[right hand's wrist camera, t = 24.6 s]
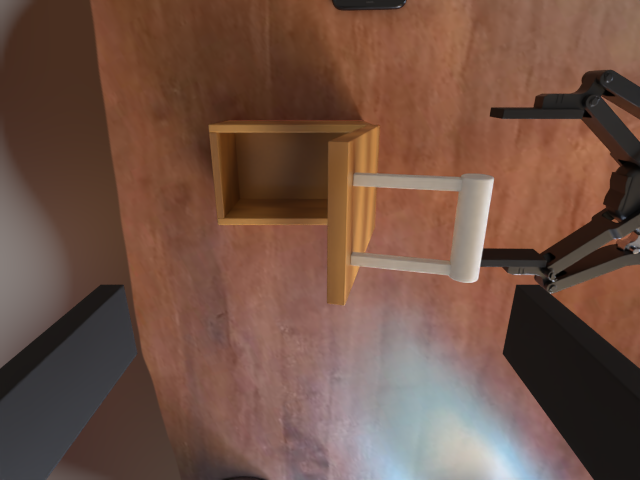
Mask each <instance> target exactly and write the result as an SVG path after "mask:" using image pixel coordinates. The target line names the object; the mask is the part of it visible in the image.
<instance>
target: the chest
mask: <svg viewBox="0 0 640 480" xmlns="http://www.w3.org/2000/svg"><path fill="white" fill-rule="evenodd" d="M367 125H372V124H370V123H367V122H365V121H364V120H227V121H224V122H219V123H214V124H209V125H208V126H209V138H210V148H211V158H212V169H213V179H214V189H215V200H216V210H217V218H218V225H328V142H329V141H331V140H333V139H336V138H338V137H340V136H343V135H345V134H348V133H350V132H352V131H355V130H357V129H359V128H362V127H364V126H367Z"/></svg>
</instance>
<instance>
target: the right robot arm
mask: <svg viewBox="0 0 640 480" xmlns="http://www.w3.org/2000/svg"><path fill="white" fill-rule="evenodd" d="M136 355H137V350H136V345H135V339H134V334H133V329H132V324H131V319H130V314H129V309H128V304H127V299H126V295H125V289H124V285H100V286H99V287H97V288H96V289H95V290H94V291H93V292H91V293H90V294H89V295H88V296H87V297H85V298H84V299H83V300H82V301H81V302H79V303H78V304H77V305H76V306H75V307H73V308H72V309H71V310H70V311H69V312H68V313H66V314H65V315H64V316H63V317H62V318H60V319H59V320H58V321H57V322H56V323H54V324H53V325H52V326H51V327H50V328H48V329H47V330H46V331H45V332H44V333H42V334H41V335H40V336H39V337H38V338H36V339H35V340H34V341H33V342H32V343H30V344H29V345H28V346H27V347H26V348H24V349H23V350H22V351H21V352H20V353H18V354H17V355H16V356H15V357H14V358H12V359H11V360H10V361H9V362H8V363H6V364H5V365H4V366H3V367H2V368H1V369H0V480H46V479H47V478H48V476H49V475H50V473H51V472H52V471H53V469H54V468H55V467H56V465H57V464H58V463H59V461H60V460H61V458H62V457H63V456H64V454H65V453H66V451H67V450H68V449H69V447H70V446H71V445H72V443H73V442H74V440H75V439H76V438H77V436H78V435H79V434H80V432H81V431H82V429H83V428H84V427H85V425H86V424H87V422H88V421H89V420H90V418H91V417H92V416H93V414H94V413H95V411H96V410H97V409H98V407H99V406H100V405H101V403H102V402H103V400H104V399H105V398H106V396H107V395H108V394H109V392H110V391H111V389H112V388H113V387H114V385H115V384H116V382H117V381H118V380H119V378H120V377H121V376H122V374H123V373H124V371H125V370H126V369H127V367H128V366H129V364H130V363H131V362H132V360H133V359H134V358H135V356H136ZM503 355H504V356H505V358H506V359H507V360H508V362H509V363H510V365H511V366H512V367H513V369H514V370H515V371H516V373H517V374H518V376H519V377H520V378H521V380H522V381H523V382H524V384H525V385H526V387H527V388H528V389H529V391H530V392H531V394H532V395H533V396H534V398H535V399H536V400H537V402H538V403H539V405H540V406H541V407H542V409H543V410H544V411H545V413H546V414H547V416H548V417H549V418H550V420H551V421H552V422H553V424H554V425H555V427H556V428H557V429H558V431H559V432H560V434H561V435H562V436H563V438H564V439H565V440H566V442H567V443H568V445H569V446H570V447H571V449H572V450H573V451H574V453H575V454H576V456H577V457H578V458H579V460H580V461H581V463H582V464H583V465H584V467H585V468H586V469H587V471H588V472H589V474H590V475H591V476H592V478H593V479H594V480H640V368H638V367H637V366H636V365H635V364H634V363H632V362H631V361H630V360H629V359H628V358H626V357H625V356H624V355H623V354H622V353H620V352H619V351H618V350H617V349H616V348H614V347H613V346H612V345H611V344H610V343H608V342H607V341H606V340H605V339H604V338H602V337H601V336H600V335H599V334H598V333H596V332H595V331H594V330H593V329H592V328H590V327H589V326H588V325H587V324H586V323H584V322H583V321H582V320H581V319H580V318H578V317H577V316H576V315H575V314H574V313H572V312H571V311H570V310H569V309H568V308H567V307H565V306H564V305H563V304H562V303H561V302H559V301H558V300H557V299H556V298H555V297H553V296H552V295H551V294H550V293H549V292H547V291H546V290H545V289H544V288H543V287H541V286H540V285H516V289H515V294H514V299H513V304H512V309H511V314H510V319H509V324H508V329H507V334H506V339H505V345H504V350H503ZM228 480H261V479H257V478H251V477H238V478H232V479H228Z"/></svg>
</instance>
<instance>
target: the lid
mask: <svg viewBox="0 0 640 480" xmlns="http://www.w3.org/2000/svg"><path fill="white" fill-rule="evenodd" d="M379 135H380V125H367V126H364V127H362V128H359V129H357V130H355V131H352V132H350V133H348V134H345V135H343V136H340V137H338V138H336V139H333V140H331V141H329V142H328V233H327V303H328V304H336V305H345V303H346V301H347V298H348V295H349V293H350V290H351V288H352V285H353V282H354V280H355V277H356V275H357V272H358V269H359V267H360V266H363V267H373V268H383V269H393V270H403V271H413V272H422V273H432V274H442V275H449V277H450V278H452V279H454V280H456V281H459V282H466V283H470V282H475V281H477V279H478V276H479V270H480V263H481V257H482V251H483V245H484V238H485V232H486V226H487V219H488V213H489V207H490V201H491V194H492V188H493V182H494V177H492V176H489V175H484V174H464V175H462V176H461V177H447V176H424V175H401V174H378V154H379ZM377 187H386V188H405V189H424V190H443V191H459V195H458V203H457V211H456V218H455V226H454V234H453V242H452V250H451V257H450V261H446V260H435V259H424V258H413V257H403V256H392V255H381V254H371V253H365V251H366V248H367V246H368V243H369V241H370V238H371V235H372V233H373V230H374V228H375V212H376V193H377Z"/></svg>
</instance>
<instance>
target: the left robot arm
mask: <svg viewBox="0 0 640 480" xmlns="http://www.w3.org/2000/svg"><path fill="white" fill-rule="evenodd" d="M601 96H602V97H604V98H606V99H607V100H609V101H610V102H612V103H614V104H615V105H617V106H619V107H620V108H622V109H624V110H625V111H627V112H629V113H630V114H632V115H633V116H635V117H637V118H638V119H640V87H639V86H637V85H636V84H634V83H632V82H631V81H629V80H628V79H626V78H624V77H623V76H621V75H620V74H618V73H616V72H615V71H613V70H599V71H588V72H586V73H585V74H584V75H583V77H582V85H581V86H580V88H579V89H578V90H577V91H576V92H574V93H571V94H540V95H538V96H536V98H535V103H534V108H491V112H490V117H496V118H501V119H582V120H583V122H584V123H585V124H586V125H587V126H588V127H589V128H590V129H591V130H592V132H593V133H594V134H595V135H596V136H597V137H598V138H599V139H600V141H601V142H602V143H603V144H604V145H605V146H606V147H607V148H608V149H609V151H610V152H611V153H610V155H611V156H612V157H613V158H614V159H615V161H616V162H617V163H618V164H619V165H620V167H619V168H618V169H617V171H616V172H612V175H611V178H610V189H609V191H608V193H607V194H606V196H605V199H604V203H603V204H604V205H606V208H605V209H603V210H602V211H600V212H599V213H597V214H596V215H594V216H593V217H592V220H591V221H590V222H589V223H587V224H586V225H584V226H583V227H581V228H580V229H578V230H577V231H575V232H573V233H572V234H570V235H569V236H567V237H566V238H564V239H562V240H561V241H559V242H558V243H556V244H555V245H553V246H551V247H550V248H548V249H547V250H545V251H544V252H542V253H541V254H539V253H537V252H536V251H535V250H534V249H483V251H482V257H481V263H480V267H503V268H504V270H505V271H506V272H507V273H510V274H512V275H518V274H519V275H522V274H523V275H535V277H534V279H535V281H536V282H538V283H539V284H540V285H541V286H542V287H543V288H544V289H545V290H546V291H547V292H549V293H555V292H558V291H561V290H563V289H566V288H569V287H571V286H574V285H576V284H579V283H582V282H584V281H587V280H590V279H592V278H595V277H598V276H600V275H603V274H606V273H608V272H611V271H614V270H616V269H619V268H622V267H624V266H628V265H639V264H640V142H639V141H638V139H637V138H636V137H635V136H634V135H633V134H632V133H631V131H630V130H629V129H628V128H627V127H626V126H625V124H624V123H623V122H622V121H621V120H620V119H619V117H618V116H617V115H616V114H615V113H614V112H613V110H612V109H611V108H610V107H609V106H608V105H607V103H606V102H605V101H604V100H603V99H602V98H601ZM613 219H616V220H617V221H618V222H619V223H615V222H613V221H612V220H613ZM631 232H632V233H631ZM629 233H631V235H630V236H629V237H628V238H627V239H624V240H617V241H616V244H613V245H608V246H605V247H602V248H600V247H601V246H603V245H605V244H606V243H608V242H609V241H611V240H613V239H618V238H623V237H625V236H626V235H628V234H629ZM598 248H599V249H598ZM596 249H597V250H596Z"/></svg>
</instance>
